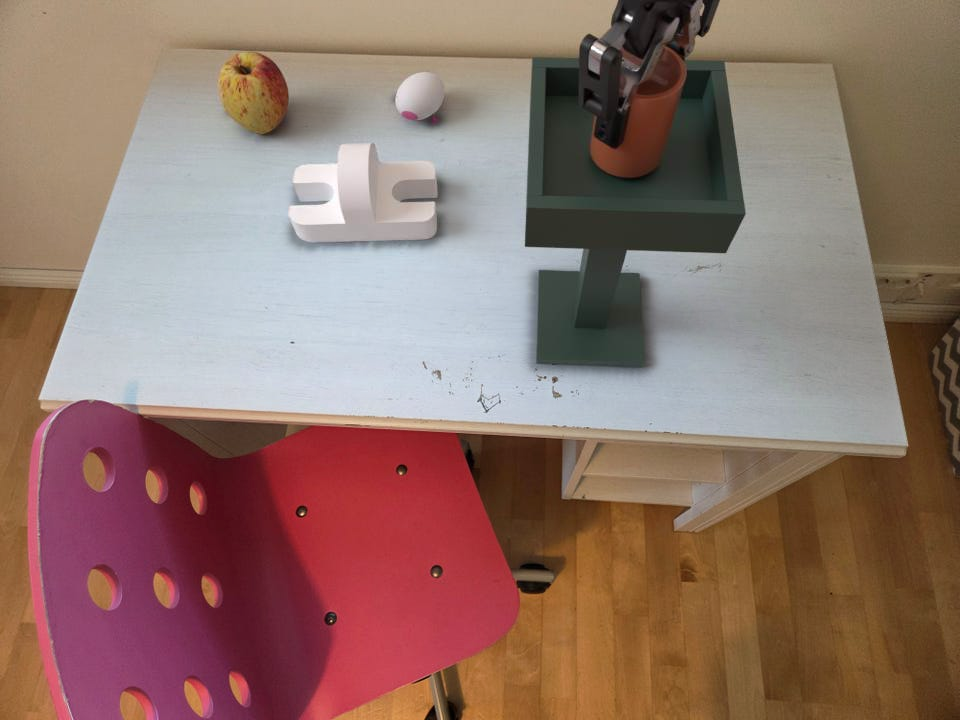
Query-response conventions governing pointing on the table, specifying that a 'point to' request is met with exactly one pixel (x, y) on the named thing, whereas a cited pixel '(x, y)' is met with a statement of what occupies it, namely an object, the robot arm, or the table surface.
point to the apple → (253, 91)
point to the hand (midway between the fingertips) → (634, 116)
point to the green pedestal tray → (621, 209)
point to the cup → (645, 120)
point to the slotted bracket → (364, 198)
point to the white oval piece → (420, 96)
